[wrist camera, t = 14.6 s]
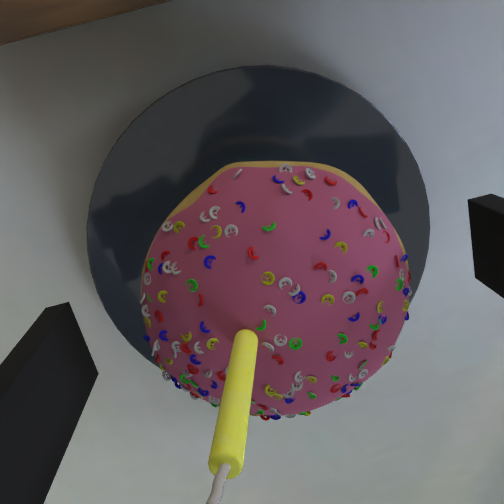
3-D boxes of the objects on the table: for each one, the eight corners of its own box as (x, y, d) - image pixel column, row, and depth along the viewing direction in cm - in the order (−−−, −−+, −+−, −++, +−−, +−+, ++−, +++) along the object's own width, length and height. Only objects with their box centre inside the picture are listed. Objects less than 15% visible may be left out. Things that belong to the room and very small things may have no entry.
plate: (42, 118, 18) (29, 120, 17) (393, 26, 18) (406, 21, 17) (153, 410, 23) (149, 428, 22) (435, 338, 23) (447, 352, 22)
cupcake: (198, 367, 21) (178, 695, 9) (122, 185, 18) (-36, 338, 7) (386, 306, 21) (597, 568, 9) (337, 112, 18) (550, 143, 6)
